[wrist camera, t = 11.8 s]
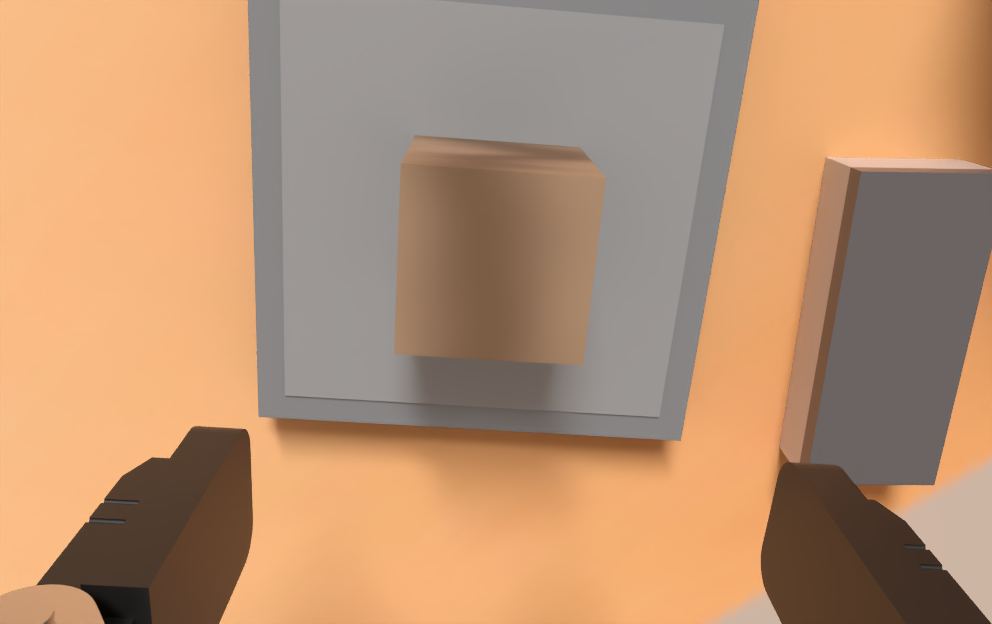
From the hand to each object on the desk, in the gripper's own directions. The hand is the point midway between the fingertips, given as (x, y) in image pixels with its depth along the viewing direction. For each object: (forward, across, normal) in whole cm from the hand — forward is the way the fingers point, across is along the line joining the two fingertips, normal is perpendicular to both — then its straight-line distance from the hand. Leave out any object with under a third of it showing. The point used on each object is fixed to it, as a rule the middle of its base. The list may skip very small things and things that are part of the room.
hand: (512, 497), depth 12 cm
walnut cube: (+16, 0, 0) cm, 17 cm away
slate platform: (+19, 0, 0) cm, 19 cm away
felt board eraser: (+19, -15, +3) cm, 24 cm away
